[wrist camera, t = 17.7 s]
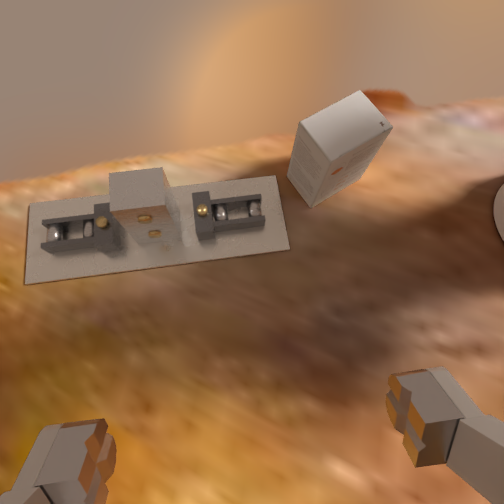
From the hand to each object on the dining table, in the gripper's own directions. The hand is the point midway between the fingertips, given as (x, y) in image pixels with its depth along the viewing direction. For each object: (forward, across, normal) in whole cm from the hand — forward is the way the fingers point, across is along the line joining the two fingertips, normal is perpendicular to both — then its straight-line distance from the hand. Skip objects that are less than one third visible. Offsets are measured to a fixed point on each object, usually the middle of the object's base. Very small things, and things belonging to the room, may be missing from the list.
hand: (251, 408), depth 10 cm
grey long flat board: (+32, +8, +7) cm, 33 cm away
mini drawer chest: (+31, +8, +6) cm, 33 cm away
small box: (+35, -12, +4) cm, 38 cm away
